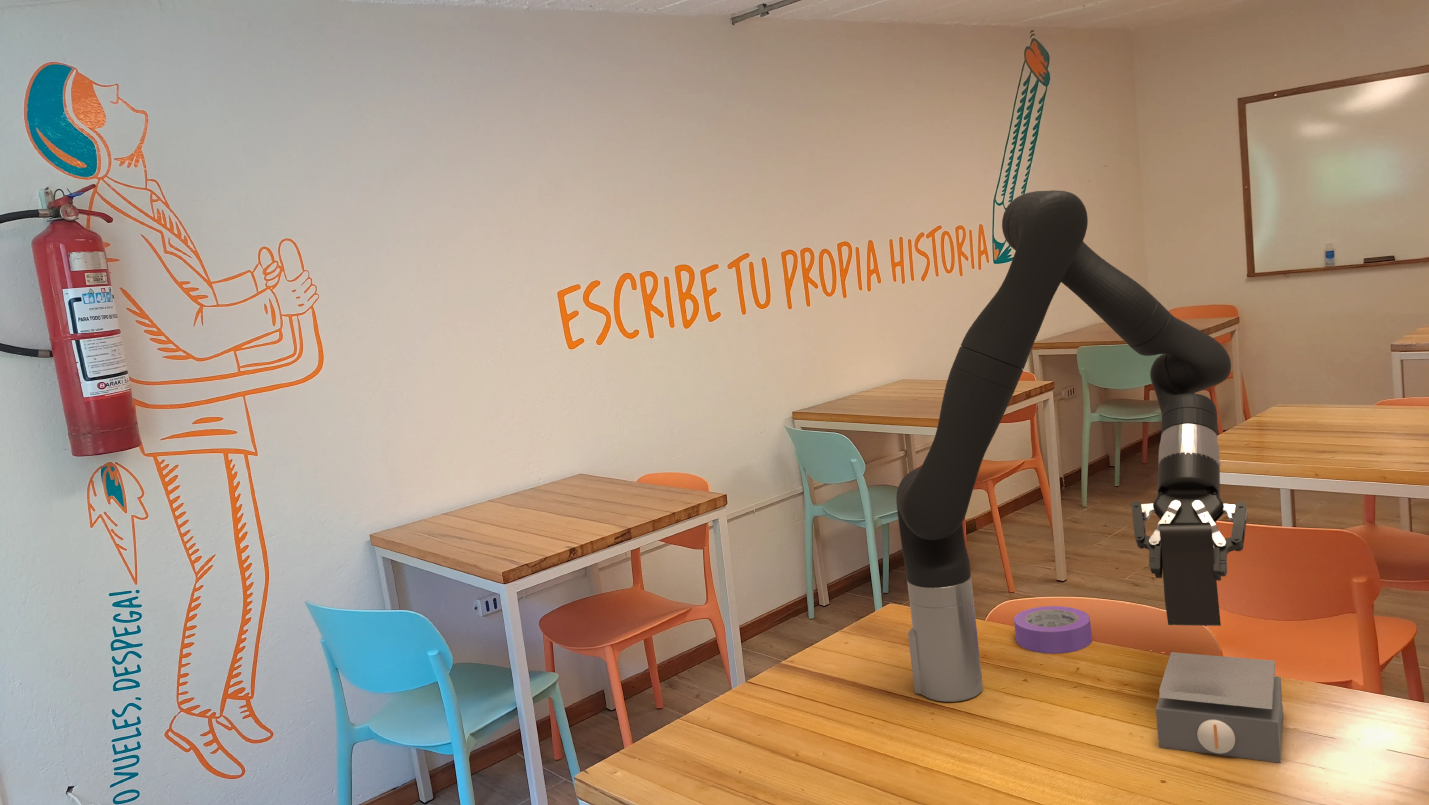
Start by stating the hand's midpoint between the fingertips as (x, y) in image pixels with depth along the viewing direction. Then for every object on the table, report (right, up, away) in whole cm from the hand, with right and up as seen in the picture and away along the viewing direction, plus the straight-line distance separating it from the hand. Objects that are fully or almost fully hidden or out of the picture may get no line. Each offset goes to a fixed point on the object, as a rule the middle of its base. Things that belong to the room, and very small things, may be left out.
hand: (1187, 576), depth 122 cm
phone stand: (+2, -5, +2) cm, 6 cm away
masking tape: (-5, -17, +33) cm, 38 cm away
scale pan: (+3, -13, -2) cm, 13 cm away
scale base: (+4, -19, -2) cm, 20 cm away
